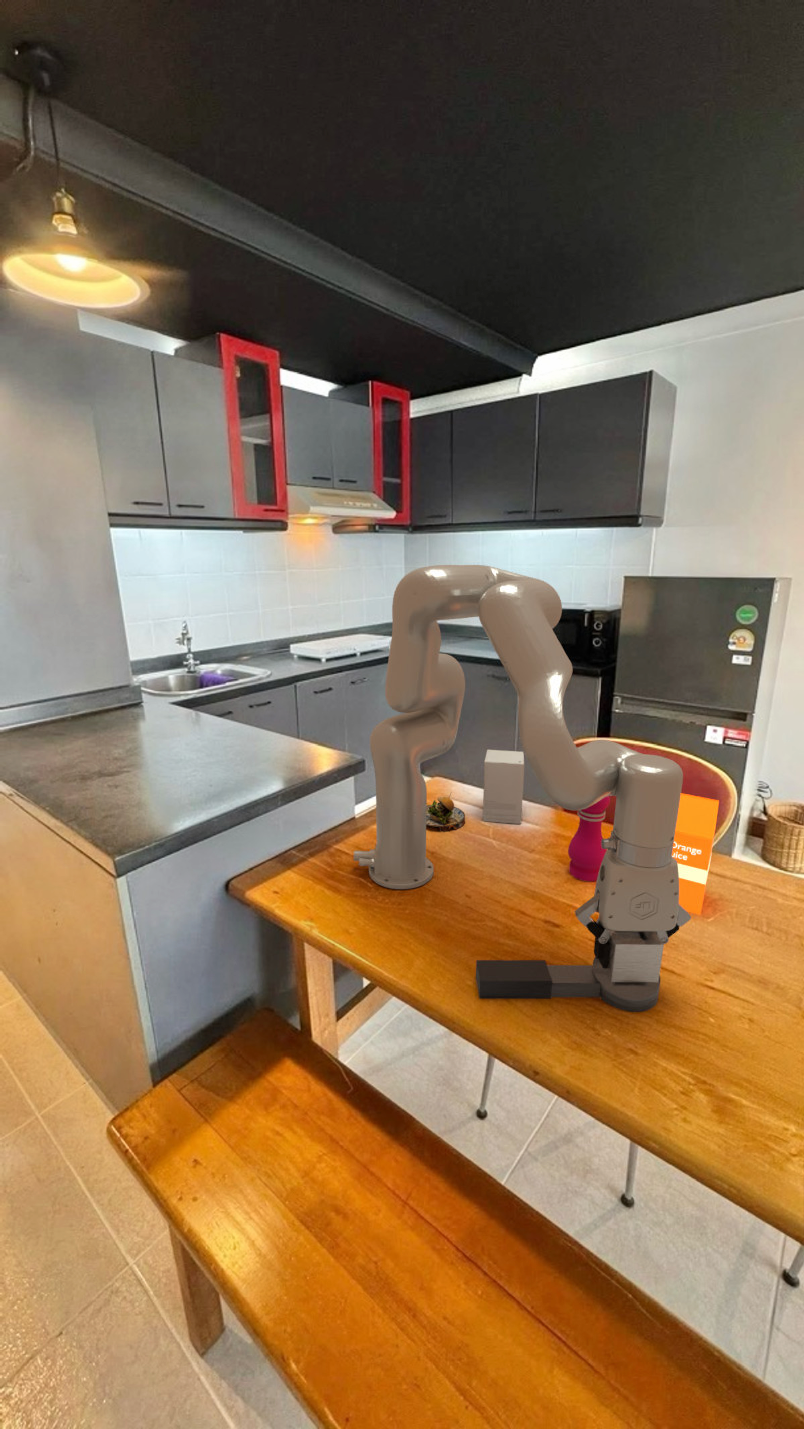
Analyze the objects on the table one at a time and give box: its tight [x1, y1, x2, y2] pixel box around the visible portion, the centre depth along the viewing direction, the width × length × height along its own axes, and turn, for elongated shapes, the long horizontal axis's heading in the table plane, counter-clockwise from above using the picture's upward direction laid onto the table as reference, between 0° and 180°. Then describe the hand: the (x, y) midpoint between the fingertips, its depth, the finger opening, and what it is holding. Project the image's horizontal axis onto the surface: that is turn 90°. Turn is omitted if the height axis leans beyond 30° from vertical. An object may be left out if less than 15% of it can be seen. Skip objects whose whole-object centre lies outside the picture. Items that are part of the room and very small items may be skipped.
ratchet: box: [475, 932, 661, 1013], centre depth 82 cm, size 26×9×8 cm, turn 90°
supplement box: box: [482, 749, 525, 825], centre depth 136 cm, size 9×9×15 cm
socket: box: [605, 931, 665, 982], centre depth 81 cm, size 6×6×6 cm
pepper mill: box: [567, 796, 611, 882], centre depth 110 cm, size 7×7×20 cm
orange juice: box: [672, 792, 720, 916], centre depth 102 cm, size 8×9×20 cm
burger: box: [426, 793, 466, 833], centre depth 134 cm, size 12×12×8 cm
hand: (626, 960), depth 82 cm, fingers closed on socket, 6 cm apart
